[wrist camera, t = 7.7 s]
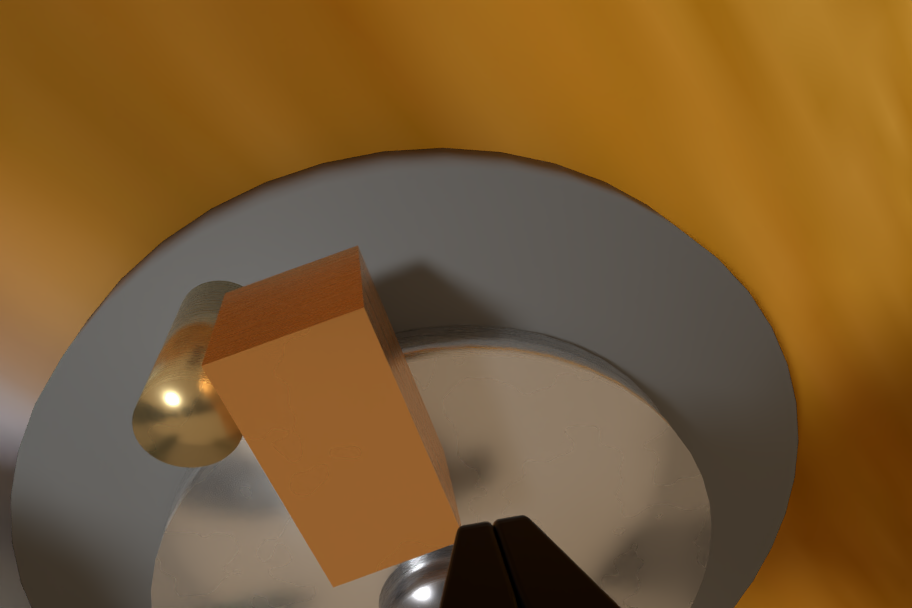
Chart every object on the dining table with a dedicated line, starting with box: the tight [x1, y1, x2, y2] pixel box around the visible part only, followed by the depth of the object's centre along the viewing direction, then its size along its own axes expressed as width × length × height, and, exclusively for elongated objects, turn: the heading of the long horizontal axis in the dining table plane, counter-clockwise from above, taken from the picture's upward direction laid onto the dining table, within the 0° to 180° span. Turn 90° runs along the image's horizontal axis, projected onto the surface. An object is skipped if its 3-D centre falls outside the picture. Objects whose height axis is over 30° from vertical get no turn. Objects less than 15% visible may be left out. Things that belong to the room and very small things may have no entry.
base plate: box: [11, 148, 798, 608], centre depth 22 cm, size 24×24×2 cm
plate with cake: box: [151, 246, 712, 608], centre depth 18 cm, size 19×16×5 cm
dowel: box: [132, 280, 243, 468], centre depth 15 cm, size 2×2×4 cm
